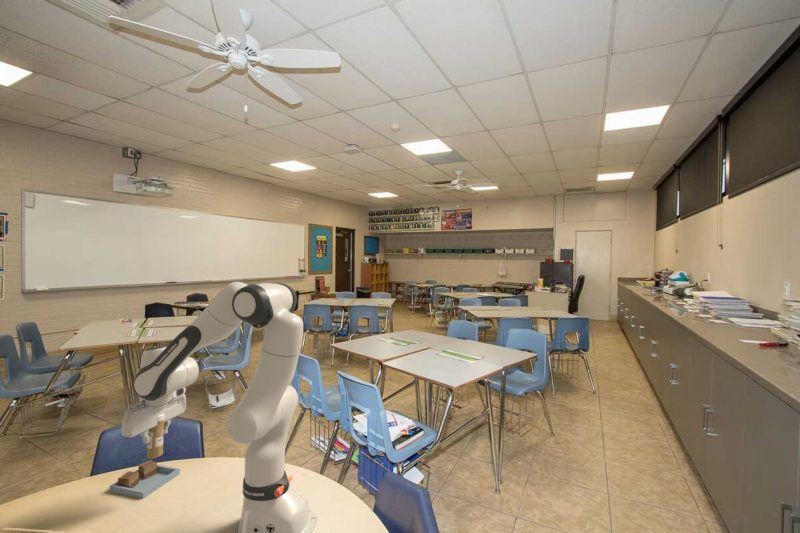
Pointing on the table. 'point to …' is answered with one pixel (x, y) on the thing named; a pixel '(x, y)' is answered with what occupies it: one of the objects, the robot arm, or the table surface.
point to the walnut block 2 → (147, 469)
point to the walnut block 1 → (129, 479)
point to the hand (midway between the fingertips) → (155, 438)
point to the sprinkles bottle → (156, 439)
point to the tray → (148, 482)
